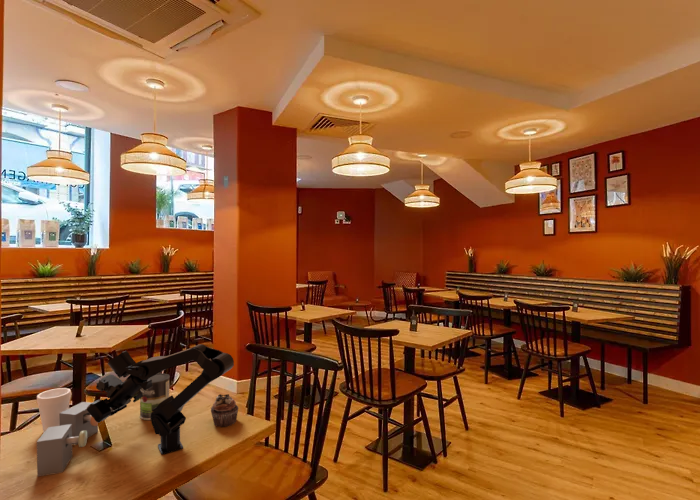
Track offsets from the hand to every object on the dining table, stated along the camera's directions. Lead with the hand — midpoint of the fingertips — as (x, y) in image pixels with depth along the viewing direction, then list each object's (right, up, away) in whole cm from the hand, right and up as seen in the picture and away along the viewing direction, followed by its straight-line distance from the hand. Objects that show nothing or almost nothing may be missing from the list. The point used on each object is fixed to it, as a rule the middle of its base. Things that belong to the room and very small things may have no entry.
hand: (101, 417), depth 133 cm
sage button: (0, -3, -13) cm, 14 cm away
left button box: (-4, -8, -15) cm, 17 cm away
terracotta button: (-4, -3, +1) cm, 5 cm away
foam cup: (-20, -8, +7) cm, 23 cm away
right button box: (-8, -8, +2) cm, 11 cm away
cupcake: (+37, -8, +14) cm, 40 cm away
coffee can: (+9, -7, +20) cm, 23 cm away
